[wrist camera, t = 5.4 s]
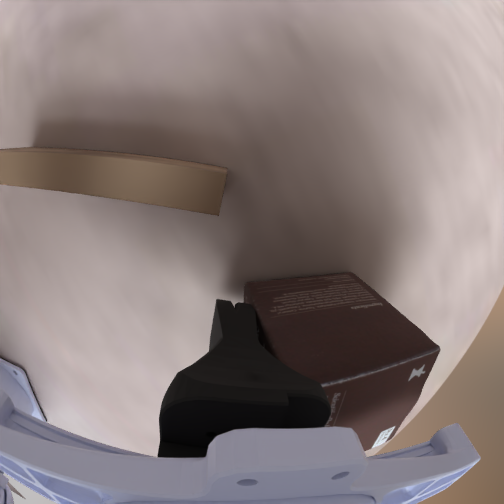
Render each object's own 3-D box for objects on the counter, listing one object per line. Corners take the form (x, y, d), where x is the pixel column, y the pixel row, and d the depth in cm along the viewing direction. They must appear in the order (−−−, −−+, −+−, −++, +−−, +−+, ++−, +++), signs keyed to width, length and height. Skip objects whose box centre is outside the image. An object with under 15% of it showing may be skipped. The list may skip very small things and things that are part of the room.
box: (242, 277, 13) (288, 389, 7) (353, 269, 15) (446, 344, 8) (242, 371, 15) (272, 479, 9) (336, 356, 17) (394, 441, 10)
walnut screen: (29, 168, 11) (-33, 181, 6) (31, 147, 11) (-32, 152, 6) (222, 193, 13) (218, 216, 8) (227, 168, 12) (227, 174, 8)
